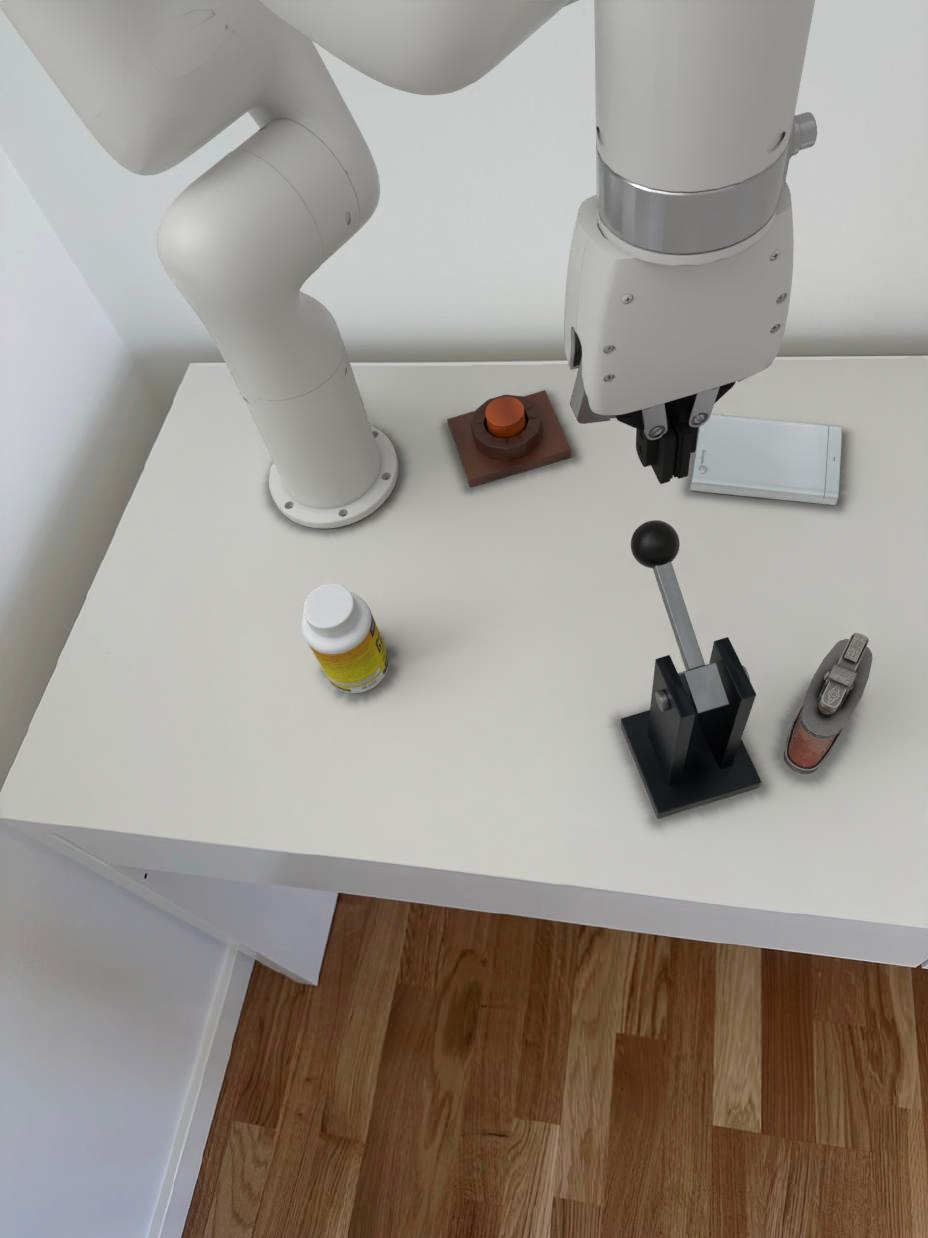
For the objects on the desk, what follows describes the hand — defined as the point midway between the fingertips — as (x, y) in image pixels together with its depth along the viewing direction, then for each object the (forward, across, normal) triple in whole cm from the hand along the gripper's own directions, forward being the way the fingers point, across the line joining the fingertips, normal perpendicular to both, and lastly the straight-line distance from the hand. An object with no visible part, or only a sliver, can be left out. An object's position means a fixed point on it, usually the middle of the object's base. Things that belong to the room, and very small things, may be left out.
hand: (664, 462), depth 53 cm
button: (+22, +4, -26) cm, 35 cm away
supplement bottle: (+25, +23, -7) cm, 35 cm away
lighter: (+25, -10, +10) cm, 29 cm away
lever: (+12, 0, +4) cm, 13 cm away
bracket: (+25, 0, +9) cm, 26 cm away
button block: (+25, +4, -26) cm, 36 cm away
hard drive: (+25, -17, -15) cm, 34 cm away
